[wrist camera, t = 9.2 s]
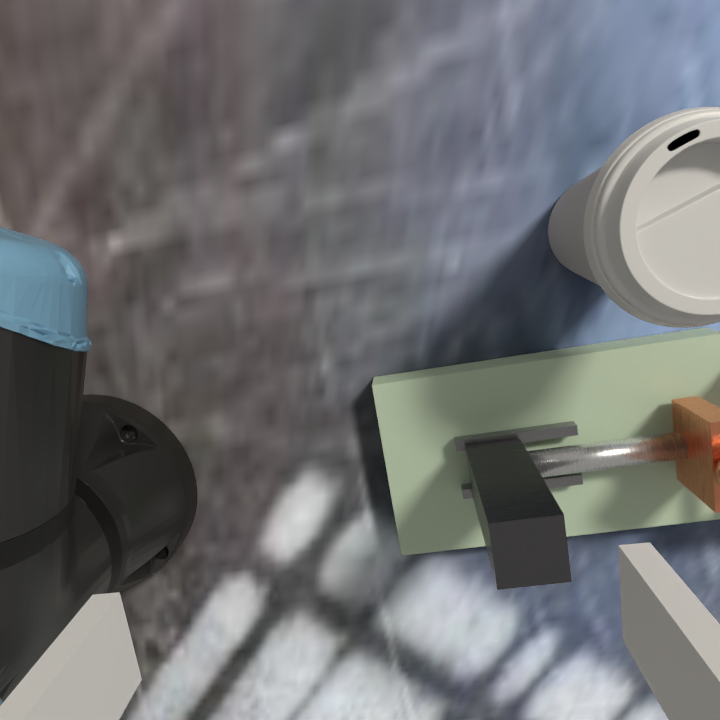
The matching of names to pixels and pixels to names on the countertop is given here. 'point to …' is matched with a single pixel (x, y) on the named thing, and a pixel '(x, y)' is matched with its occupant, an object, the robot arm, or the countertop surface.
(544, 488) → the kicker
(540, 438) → the rail guide
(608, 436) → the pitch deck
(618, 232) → the coffee cup
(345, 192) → the countertop surface
